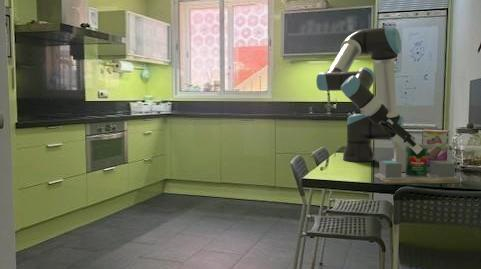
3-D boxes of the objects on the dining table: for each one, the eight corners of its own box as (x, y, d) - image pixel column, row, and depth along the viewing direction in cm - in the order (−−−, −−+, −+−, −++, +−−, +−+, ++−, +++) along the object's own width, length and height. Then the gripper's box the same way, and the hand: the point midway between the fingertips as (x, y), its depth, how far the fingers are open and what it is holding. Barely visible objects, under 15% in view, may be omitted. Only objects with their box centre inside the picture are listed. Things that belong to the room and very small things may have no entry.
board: (374, 176, 188) (374, 174, 188) (444, 176, 188) (444, 173, 188) (385, 183, 174) (385, 180, 174) (460, 182, 174) (460, 180, 174)
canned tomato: (413, 177, 176) (414, 148, 175) (400, 174, 184) (401, 146, 183) (431, 176, 178) (432, 147, 177) (418, 173, 186) (419, 145, 185)
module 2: (429, 173, 185) (430, 160, 185) (445, 173, 185) (445, 160, 185) (438, 176, 177) (438, 163, 177) (454, 176, 177) (454, 163, 177)
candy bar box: (420, 165, 217) (421, 130, 216) (423, 164, 222) (424, 129, 220) (446, 167, 211) (448, 131, 210) (448, 166, 215) (450, 130, 214)
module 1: (379, 173, 185) (379, 160, 185) (394, 173, 185) (394, 160, 185) (385, 177, 177) (385, 163, 177) (401, 177, 177) (401, 163, 177)
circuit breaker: (429, 173, 196) (430, 137, 195) (393, 172, 199) (394, 136, 198) (425, 170, 204) (426, 135, 202) (391, 169, 206) (392, 135, 205)
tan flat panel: (375, 175, 186) (375, 173, 186) (446, 174, 186) (446, 172, 186) (383, 179, 176) (383, 177, 176) (458, 179, 176) (458, 177, 176)
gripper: (358, 115, 191) (394, 152, 192) (377, 119, 166) (418, 161, 168) (372, 102, 190) (407, 139, 192) (392, 103, 166) (433, 146, 167)
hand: (412, 149), depth 180 cm, fingers open, 13 cm apart
